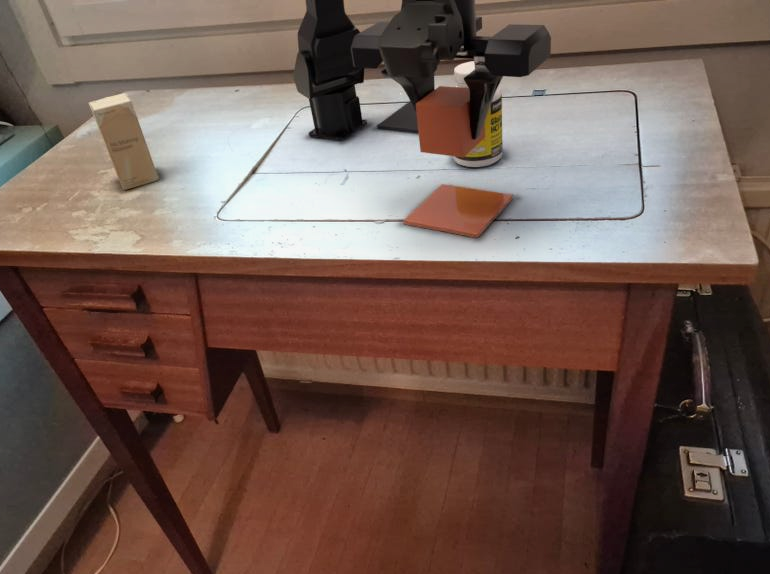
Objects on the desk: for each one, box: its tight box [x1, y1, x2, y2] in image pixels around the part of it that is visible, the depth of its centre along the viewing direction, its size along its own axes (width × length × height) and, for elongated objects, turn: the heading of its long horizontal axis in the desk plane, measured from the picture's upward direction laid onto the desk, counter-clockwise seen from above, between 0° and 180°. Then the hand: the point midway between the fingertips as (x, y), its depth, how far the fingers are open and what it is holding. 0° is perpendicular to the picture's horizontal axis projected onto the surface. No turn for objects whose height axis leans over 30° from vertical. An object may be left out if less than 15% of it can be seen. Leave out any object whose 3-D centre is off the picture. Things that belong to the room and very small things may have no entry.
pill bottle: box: [452, 60, 504, 168], centre depth 79 cm, size 6×6×11 cm
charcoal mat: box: [376, 100, 419, 134], centre depth 95 cm, size 9×10×1 cm
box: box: [88, 92, 160, 191], centre depth 89 cm, size 5×4×11 cm
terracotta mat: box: [403, 183, 514, 239], centre depth 73 cm, size 9×9×1 cm
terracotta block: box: [416, 85, 485, 157], centre depth 67 cm, size 5×5×5 cm
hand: (452, 135), depth 68 cm, fingers closed on terracotta block, 5 cm apart
